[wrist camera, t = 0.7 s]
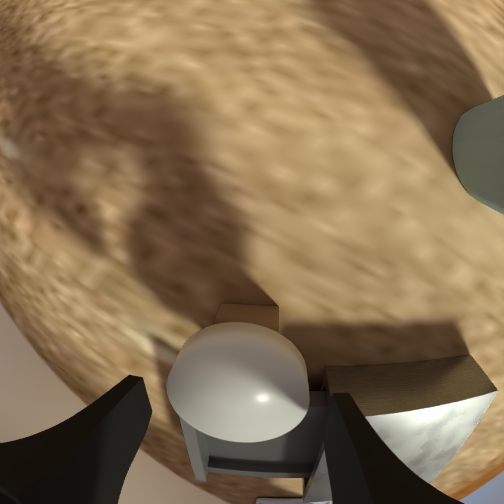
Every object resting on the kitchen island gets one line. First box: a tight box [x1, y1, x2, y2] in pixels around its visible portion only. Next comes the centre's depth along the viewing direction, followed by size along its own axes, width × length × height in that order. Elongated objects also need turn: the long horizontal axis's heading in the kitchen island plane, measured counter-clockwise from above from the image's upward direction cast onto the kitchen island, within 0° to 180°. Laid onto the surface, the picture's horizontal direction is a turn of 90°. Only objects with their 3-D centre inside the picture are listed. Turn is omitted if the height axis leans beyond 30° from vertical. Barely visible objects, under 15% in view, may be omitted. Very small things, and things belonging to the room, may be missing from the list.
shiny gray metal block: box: [302, 355, 498, 503], centre depth 15 cm, size 11×11×4 cm
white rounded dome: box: [166, 322, 310, 442], centre depth 11 cm, size 6×6×2 cm
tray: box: [179, 391, 328, 482], centre depth 16 cm, size 9×10×2 cm
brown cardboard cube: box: [212, 303, 279, 333], centre depth 14 cm, size 3×3×4 cm
